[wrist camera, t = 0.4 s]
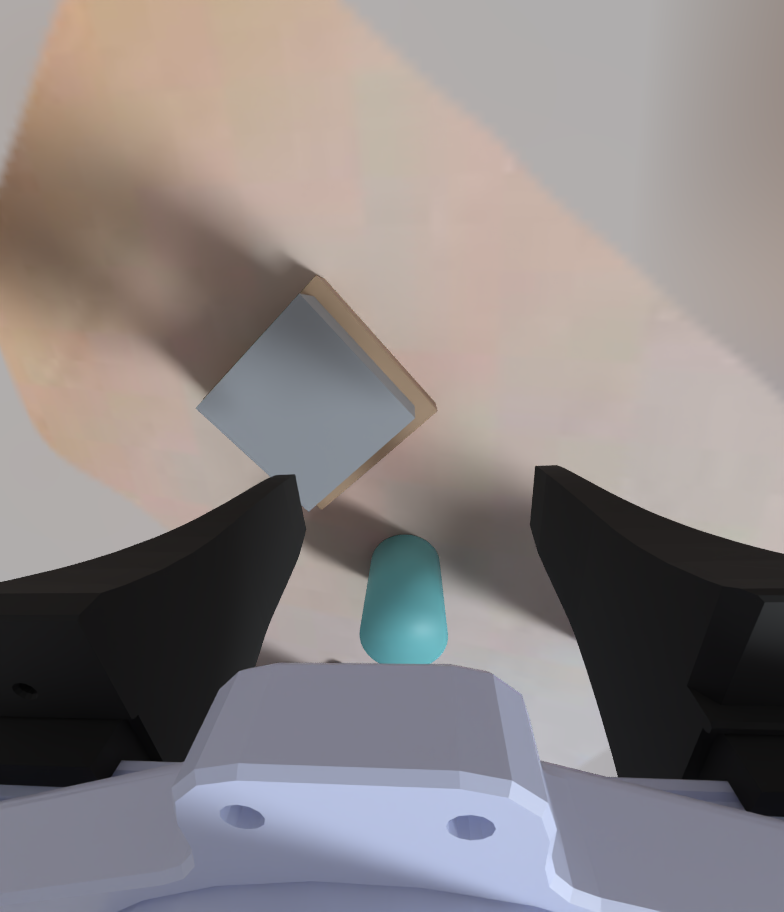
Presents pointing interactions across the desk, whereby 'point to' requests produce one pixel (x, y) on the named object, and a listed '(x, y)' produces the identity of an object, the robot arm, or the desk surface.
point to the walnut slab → (384, 361)
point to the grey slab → (307, 402)
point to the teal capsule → (404, 603)
